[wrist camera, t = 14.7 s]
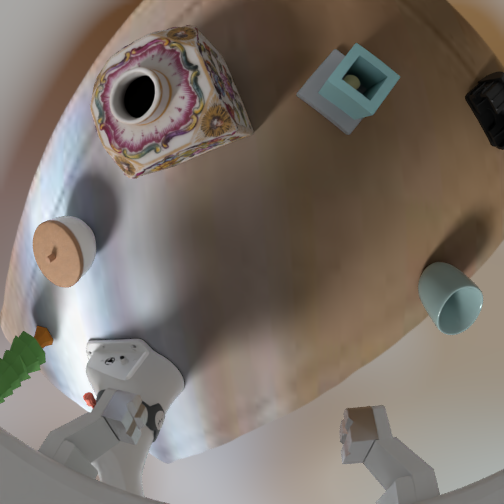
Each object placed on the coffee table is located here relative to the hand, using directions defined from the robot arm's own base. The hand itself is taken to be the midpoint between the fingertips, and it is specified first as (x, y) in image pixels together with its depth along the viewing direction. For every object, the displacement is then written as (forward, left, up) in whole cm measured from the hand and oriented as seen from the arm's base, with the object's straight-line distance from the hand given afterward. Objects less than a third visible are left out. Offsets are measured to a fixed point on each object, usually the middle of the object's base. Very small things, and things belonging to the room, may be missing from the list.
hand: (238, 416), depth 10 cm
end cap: (+34, +17, -31) cm, 49 cm away
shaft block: (+9, +16, -31) cm, 36 cm away
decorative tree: (-55, -27, -31) cm, 69 cm away
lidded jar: (-32, -3, -31) cm, 45 cm away
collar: (+10, +16, -29) cm, 35 cm away
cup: (+25, -10, -31) cm, 41 cm away
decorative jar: (-9, +14, -31) cm, 36 cm away
